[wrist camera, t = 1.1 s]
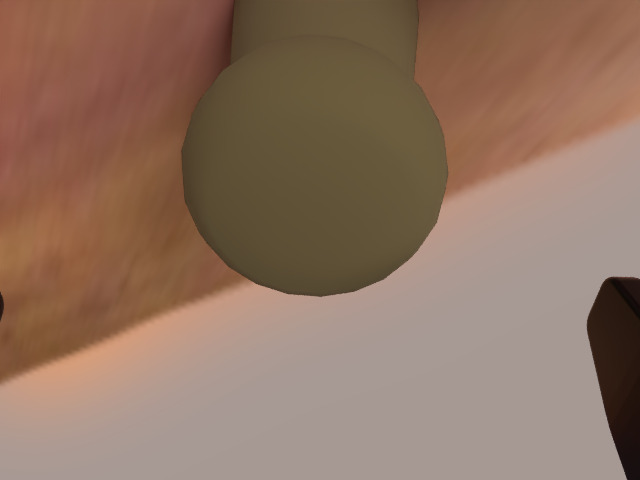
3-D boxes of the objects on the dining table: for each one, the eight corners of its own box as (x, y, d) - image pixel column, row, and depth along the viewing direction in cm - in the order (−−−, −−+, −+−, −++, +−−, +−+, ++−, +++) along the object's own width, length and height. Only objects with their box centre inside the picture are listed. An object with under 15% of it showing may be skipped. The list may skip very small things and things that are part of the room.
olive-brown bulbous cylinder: (386, 126, 21) (415, 363, 12) (222, 87, 20) (131, 309, 11) (447, -50, 17) (552, 109, 9) (249, -105, 16) (145, 8, 8)
